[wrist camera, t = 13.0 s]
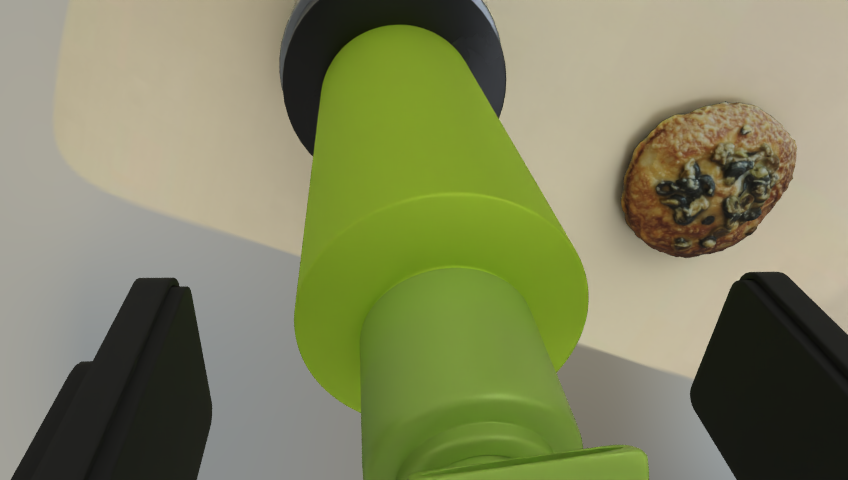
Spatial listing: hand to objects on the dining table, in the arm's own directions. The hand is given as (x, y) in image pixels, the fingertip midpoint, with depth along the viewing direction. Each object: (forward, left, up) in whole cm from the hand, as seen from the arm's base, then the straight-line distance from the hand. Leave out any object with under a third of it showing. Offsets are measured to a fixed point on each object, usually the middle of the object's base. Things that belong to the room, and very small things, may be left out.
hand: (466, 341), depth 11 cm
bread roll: (+9, +21, -27) cm, 35 cm away
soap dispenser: (0, 0, -15) cm, 15 cm away
